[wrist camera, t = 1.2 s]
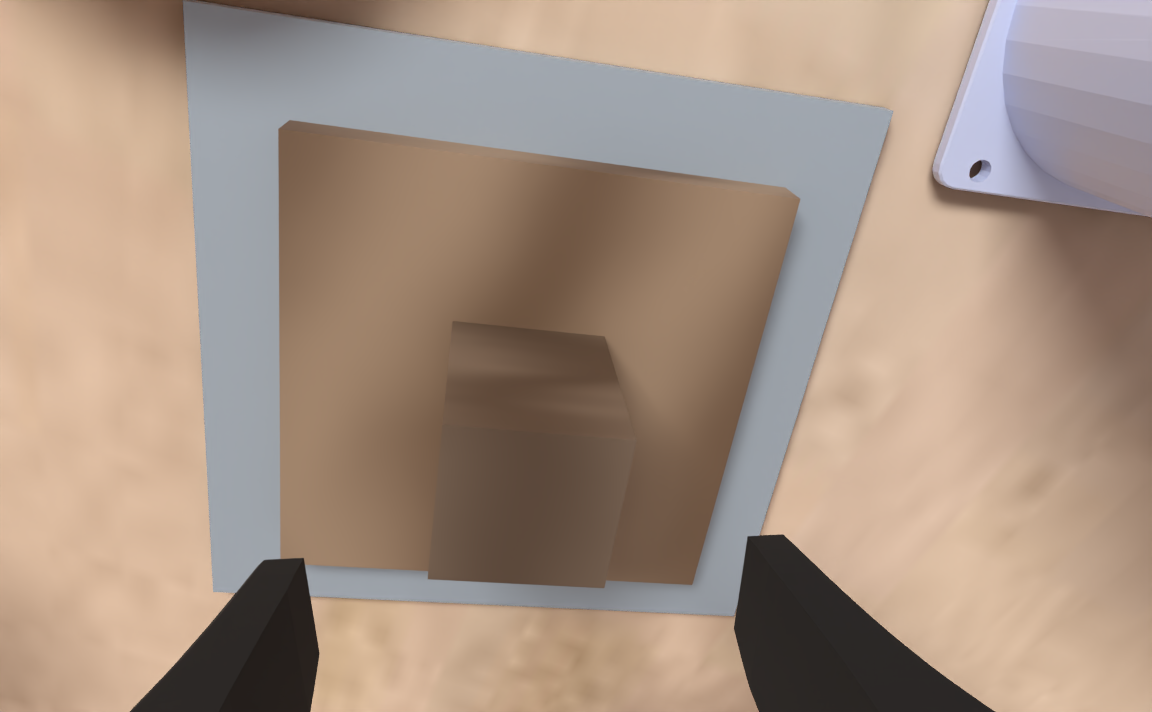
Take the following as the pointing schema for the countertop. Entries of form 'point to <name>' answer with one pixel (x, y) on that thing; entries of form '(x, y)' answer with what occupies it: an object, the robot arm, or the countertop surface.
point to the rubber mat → (506, 121)
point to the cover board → (505, 267)
